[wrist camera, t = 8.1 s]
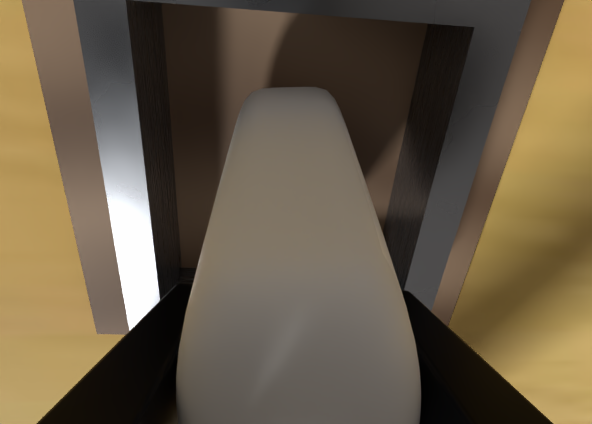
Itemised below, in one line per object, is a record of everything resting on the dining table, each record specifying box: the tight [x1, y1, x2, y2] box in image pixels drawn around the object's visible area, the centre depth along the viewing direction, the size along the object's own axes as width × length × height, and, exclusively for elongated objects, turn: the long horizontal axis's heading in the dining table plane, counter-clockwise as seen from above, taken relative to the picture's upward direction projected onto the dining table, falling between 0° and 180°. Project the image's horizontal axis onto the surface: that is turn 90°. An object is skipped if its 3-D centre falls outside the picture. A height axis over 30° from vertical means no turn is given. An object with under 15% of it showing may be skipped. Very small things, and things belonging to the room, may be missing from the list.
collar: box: [73, 0, 531, 331], centre depth 12 cm, size 11×9×3 cm
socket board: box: [22, 0, 564, 335], centre depth 14 cm, size 16×14×1 cm
